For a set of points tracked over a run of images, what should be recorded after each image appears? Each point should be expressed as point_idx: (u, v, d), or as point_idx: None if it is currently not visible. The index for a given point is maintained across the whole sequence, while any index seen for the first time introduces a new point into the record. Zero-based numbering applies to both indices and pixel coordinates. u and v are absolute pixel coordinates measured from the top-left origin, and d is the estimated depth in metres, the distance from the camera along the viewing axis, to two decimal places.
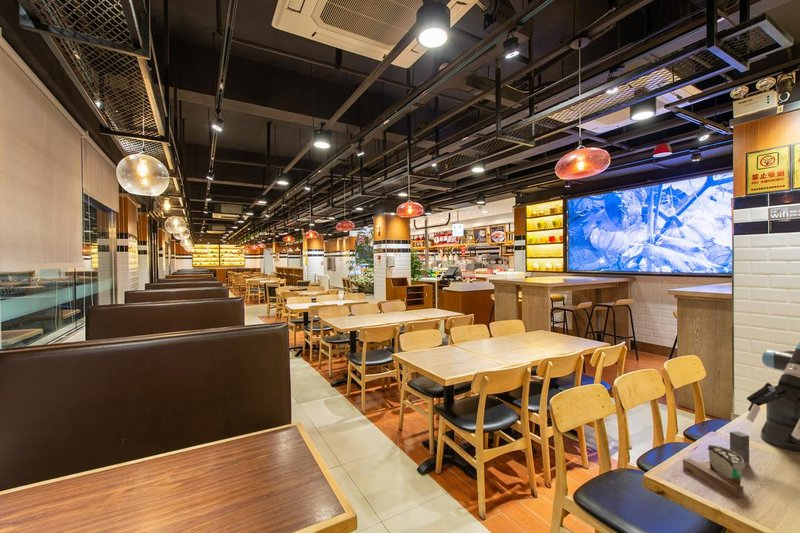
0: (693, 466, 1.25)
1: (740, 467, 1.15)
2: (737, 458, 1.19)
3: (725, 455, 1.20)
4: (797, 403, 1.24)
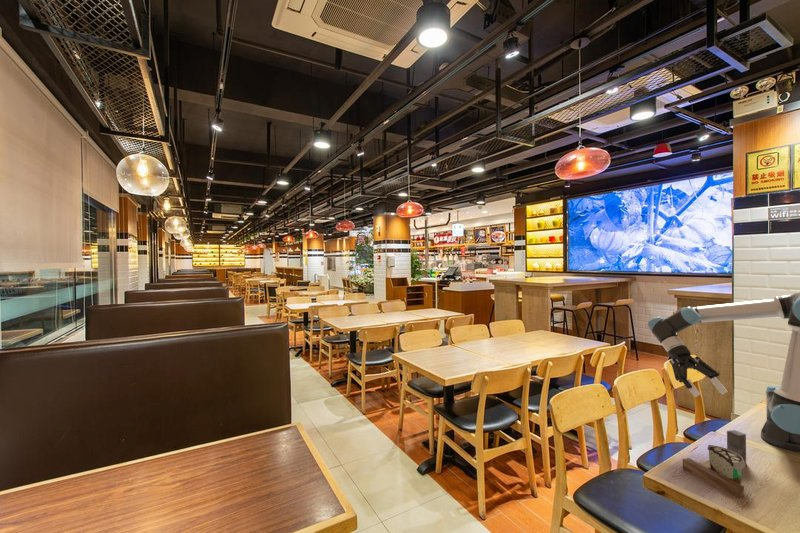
0: (693, 465, 1.25)
1: (740, 467, 1.15)
2: (737, 458, 1.19)
3: (725, 455, 1.20)
4: None
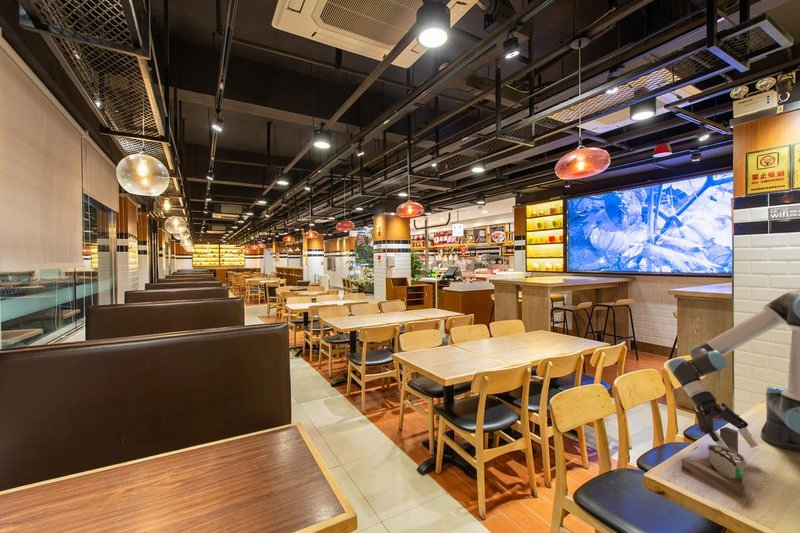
0: (693, 465, 1.25)
1: (743, 467, 1.15)
2: (738, 457, 1.19)
3: (726, 455, 1.20)
4: None
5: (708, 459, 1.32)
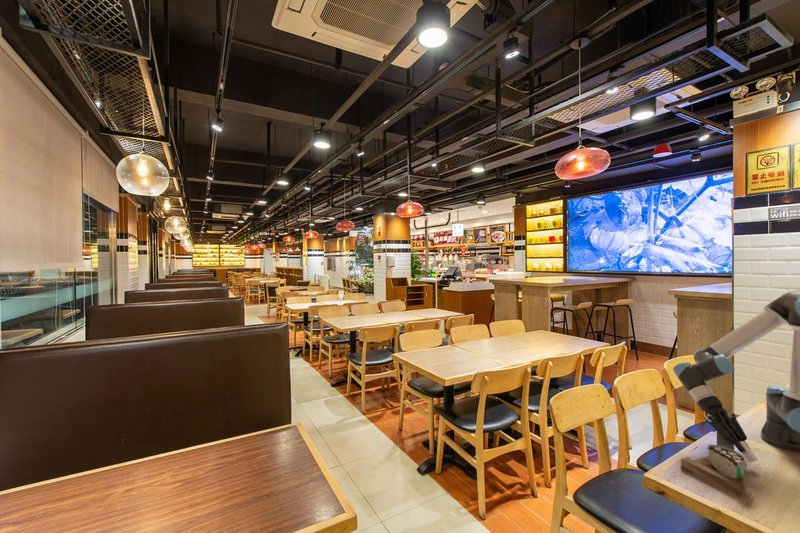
0: (693, 465, 1.25)
1: (744, 466, 1.15)
2: (738, 457, 1.20)
3: (727, 455, 1.21)
4: None
5: (706, 458, 1.33)
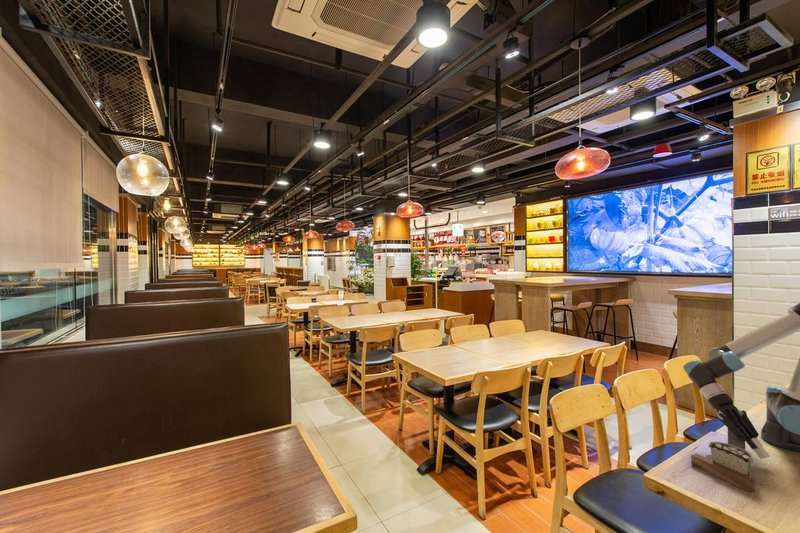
0: (703, 461, 1.28)
1: None
2: (741, 452, 1.23)
3: (732, 451, 1.23)
4: None
5: None
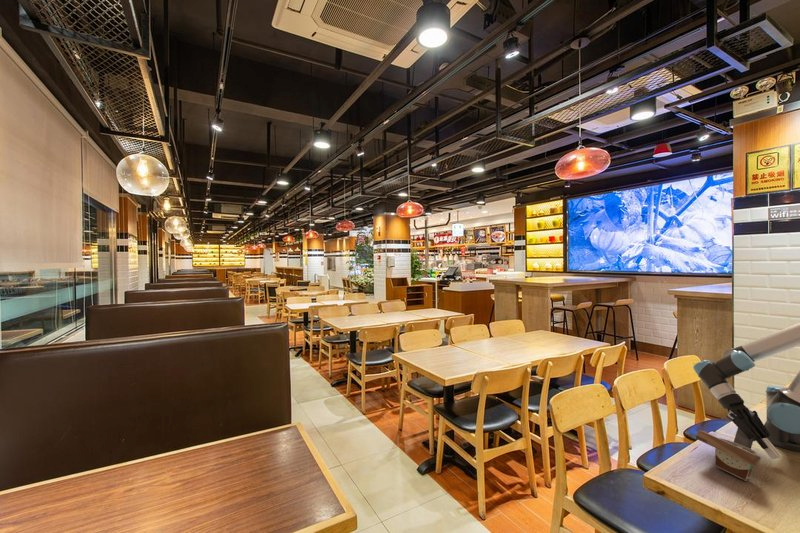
0: (709, 435, 1.29)
1: None
2: (746, 450, 1.24)
3: None
4: None
5: None
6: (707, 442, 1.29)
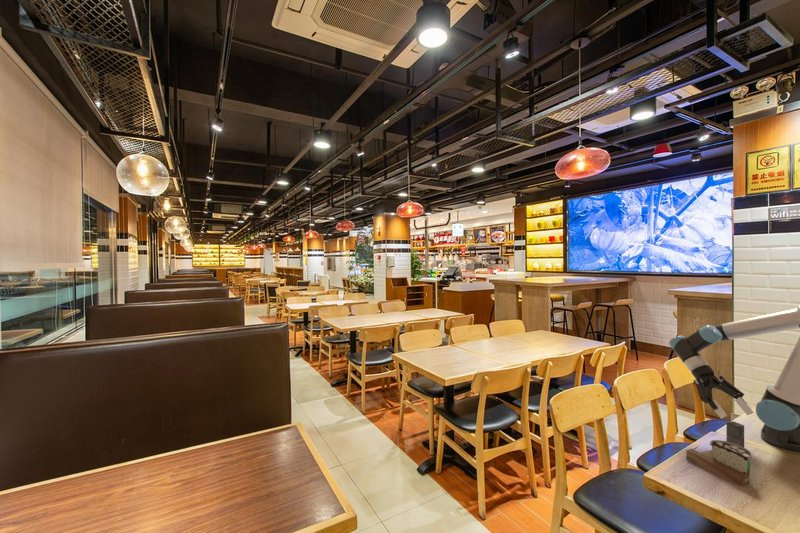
0: (697, 456, 1.31)
1: (752, 460, 1.19)
2: (741, 450, 1.24)
3: (732, 449, 1.24)
4: None
5: None
6: (697, 462, 1.31)
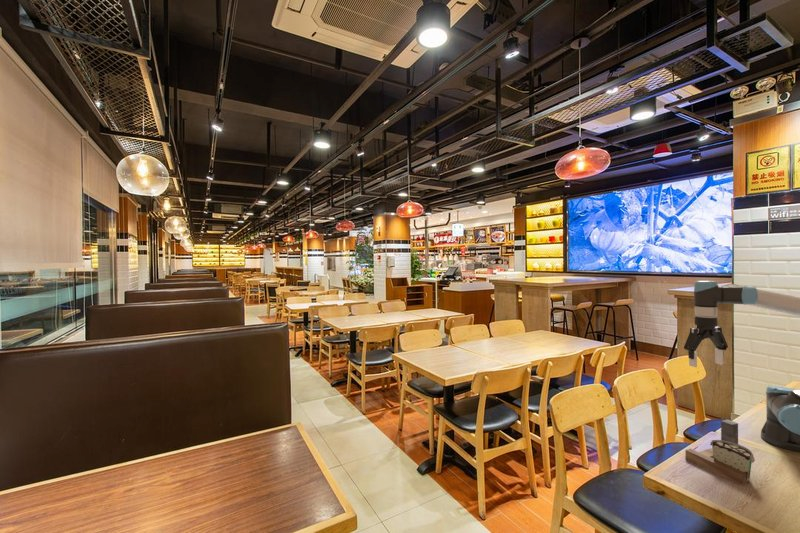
0: (696, 455, 1.31)
1: (754, 459, 1.19)
2: (742, 449, 1.24)
3: (733, 449, 1.24)
4: None
5: (710, 450, 1.39)
6: (696, 462, 1.32)
